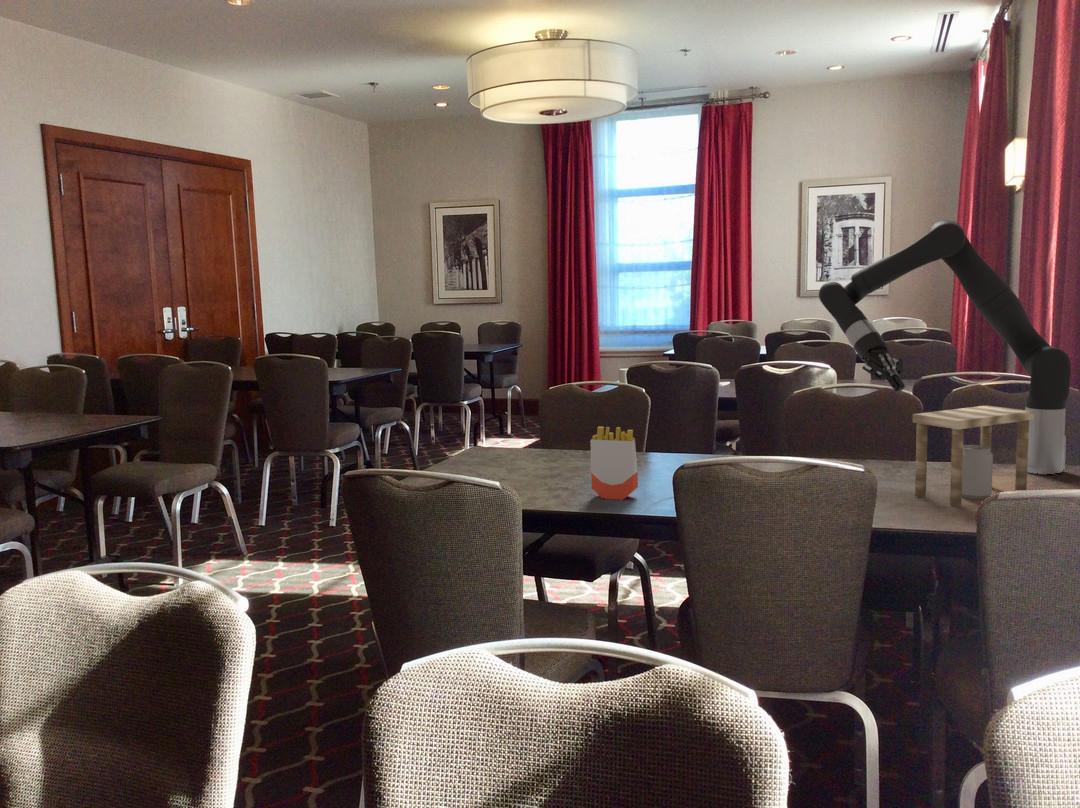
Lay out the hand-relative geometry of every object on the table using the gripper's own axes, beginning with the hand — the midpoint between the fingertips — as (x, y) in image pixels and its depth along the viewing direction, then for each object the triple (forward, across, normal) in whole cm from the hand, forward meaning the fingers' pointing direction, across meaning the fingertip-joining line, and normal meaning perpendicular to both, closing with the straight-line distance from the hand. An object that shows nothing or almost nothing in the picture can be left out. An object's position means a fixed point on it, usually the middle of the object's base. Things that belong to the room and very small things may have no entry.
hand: (900, 389), depth 228 cm
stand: (+32, 0, +1) cm, 32 cm away
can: (+33, 0, +1) cm, 33 cm away
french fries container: (+1, -73, +32) cm, 80 cm away
